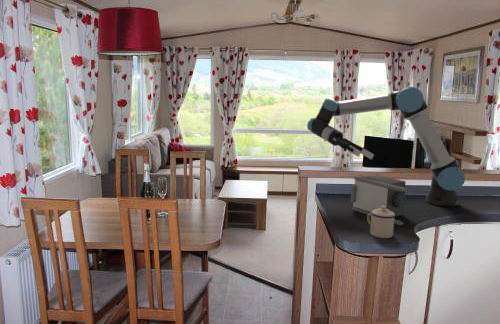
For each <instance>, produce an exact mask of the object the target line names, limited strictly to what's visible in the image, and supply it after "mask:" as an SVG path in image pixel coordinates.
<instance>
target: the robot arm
mask: <svg viewBox="0 0 500 324" xmlns="http://www.w3.org/2000/svg"><path fill="white" fill-rule="evenodd" d="M428 109H429V107H428V105H427V102H426V101H425V97H424V94H423V92H422V91H421V90H420V89H419V88H417V87H414V86H406V87H404V88H402V89H399V90H396V91H390V92H388V94H381V95H376V96H369V97H361V98H354V99H348V100H342V101H341V100H340V101H334V100H333V99H330V98H325V99H324V101H323V102H322V105H321V107H320V109H319V111H318V113H317V115H316V117H311V118H310V120H308V122H307V126H306V127H307V130H308V131H310V132H311V133H312V134H314V135H315V136H317V137H318V138H321V139H323V142H327V143H329V144H330V145H332V146H334V147H336V146H339V147H340V148H341V149H343V151H345V152H349V153H350V154H352V155H354V156H356V157H359V156H360V154H361V155H362V156H365V157H366V158H368V159H369V160H373V158H374V156H375V154H374V153H372V152H371V151H369V150H367V149H366V147H365V146H363V147H362V146H361V145H358V144H356V143H354V142H352V141H351V140H349V139H347V138H345V137H344V134H343V132H342V131H340V130H338V129H337V128H334V127H333V126H331V125H330V122H331V120H332V119H333V117H340V116H346V115H354V114H362V113H369V112H377V111H384V110H390V111H400V113H401V115H402V116H403V118H404V120H406V121H408V122H410V124H411V127H412V129H413V130H414V132H415V134H416V136H417V138H418V140H419V141H420V144H421V145H422V148H423V149H424V151H425V153H426V155H427V157H428V159H429V161H430V162H431V166H430V170H431V172H432V173H431V180H430V181H431V183H430V188H429V190H428V192H427V194H426V197H425V202H426V203H428V204H431V205H435V206H439V207H457V206H458V205H459V199H458V195H457V190H459V189H460V188H462V186H463V185H464V184H465V181H466V175H465V172H464V171H463V170H462V169H461V167H460V166H459V165H460V164H459V161H458V160H457V159H456V158H455V157H453V156H450V154H449V152H448V150H447V148H446V147H445V145H444V143H443V140H442V139H441V137H440V135H439V133H438V132H437V129H436V127H435V126H434V124H433V122H432V120H431V118H430V116H429V114H428Z"/></svg>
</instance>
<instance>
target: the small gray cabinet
mask: <svg viewBox="0 0 500 324" xmlns="http://www.w3.org/2000/svg"><path fill="white" fill-rule="evenodd" d="M366 176H367V177H362V176H354V181H355V180H359V181H363V182H367V183H371V184H375V185H379V186H383V187H387V188H388V194H387V206H386V209H388V210H390V211H392V212H394V213H395V217H401V216H404V214H403V212H404V206H405V204H406V200H407V197H406V194H405V192H407V188H406V181H405V180H402V179H401V180H400V179H396V178H393V177H388V176H383V175H379V174H376V175H375V174H374V175H366ZM351 208H352V210H353V211H356V212H358V213H362V214H365V215H368V214H369V213H371V212H369V211H366V210H363V209H360V208H357V207H354V206H352V207H351ZM395 217H394V225H398V226H402V225H404V221H401V220H398V219H395Z"/></svg>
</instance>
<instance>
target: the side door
mask: <svg viewBox="0 0 500 324" xmlns="http://www.w3.org/2000/svg"><path fill="white" fill-rule="evenodd" d="M387 194H388V188H387V187H383V186H379V185H375V184H371V183H367V182H363V181H359V180H355V179H354V184H353V185H351V190H350V203H352V207H357V208H360V209H363V210H366V211H369V212H371V211H372V210H375V209H378V208H381V206H387Z"/></svg>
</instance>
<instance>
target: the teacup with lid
mask: <svg viewBox="0 0 500 324" xmlns="http://www.w3.org/2000/svg"><path fill="white" fill-rule="evenodd" d="M394 219H395V213H394V212H392V211H390V210H388V209H386V206H381V208H378V209H375V210H372V211H371V213H369V214H366V220H367V223H368V225H370V228H369V234H370V235H371V236H373V237H376V238H380V239H390V238H393V236H394V226H395V223H394Z"/></svg>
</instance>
